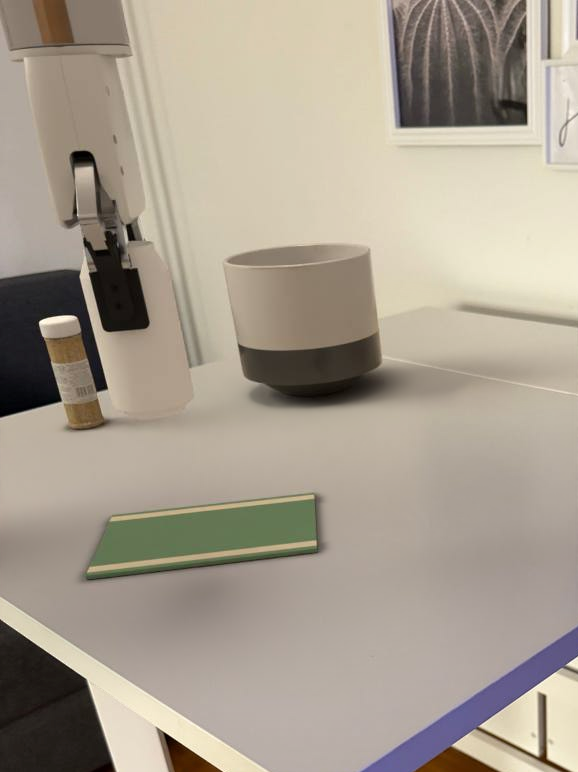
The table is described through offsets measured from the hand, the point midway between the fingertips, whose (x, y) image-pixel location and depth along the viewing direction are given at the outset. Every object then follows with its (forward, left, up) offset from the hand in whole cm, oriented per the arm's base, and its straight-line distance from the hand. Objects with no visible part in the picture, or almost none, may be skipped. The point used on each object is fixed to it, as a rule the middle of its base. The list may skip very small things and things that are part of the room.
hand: (133, 317), depth 69 cm
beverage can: (0, 0, -7) cm, 7 cm away
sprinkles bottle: (-18, +51, -22) cm, 59 cm away
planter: (+12, +58, -22) cm, 63 cm away
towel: (+1, +9, -22) cm, 24 cm away
